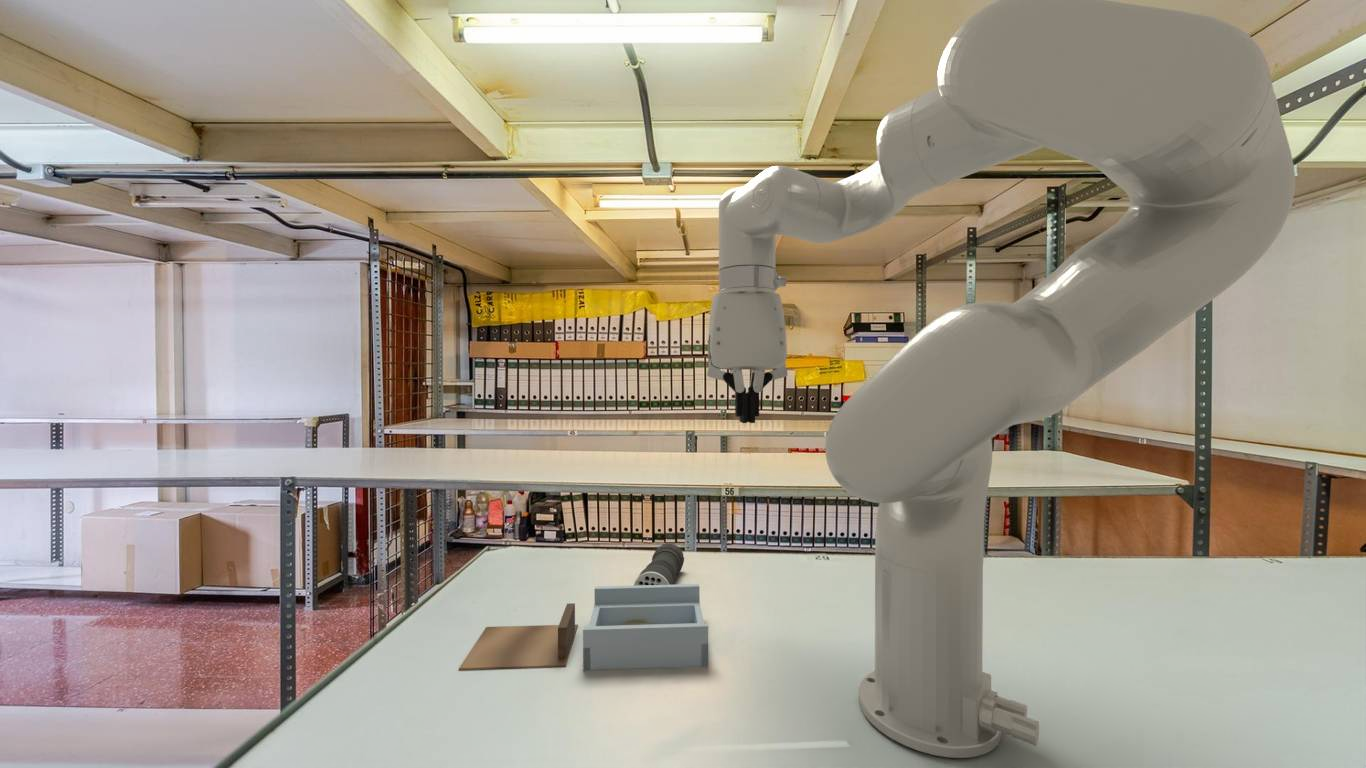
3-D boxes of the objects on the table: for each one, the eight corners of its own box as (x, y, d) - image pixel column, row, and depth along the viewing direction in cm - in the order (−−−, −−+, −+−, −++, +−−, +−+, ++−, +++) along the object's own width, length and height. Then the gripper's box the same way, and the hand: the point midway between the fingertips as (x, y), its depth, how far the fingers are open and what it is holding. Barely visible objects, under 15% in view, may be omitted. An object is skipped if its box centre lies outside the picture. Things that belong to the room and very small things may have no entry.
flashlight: (654, 570, 90) (654, 539, 90) (685, 572, 89) (685, 540, 89) (633, 609, 75) (633, 571, 74) (670, 611, 74) (670, 573, 74)
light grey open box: (699, 620, 71) (698, 583, 71) (708, 670, 59) (708, 626, 59) (595, 623, 70) (595, 586, 70) (583, 674, 58) (583, 629, 58)
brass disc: (652, 626, 68) (652, 620, 68) (652, 643, 64) (652, 637, 64) (618, 627, 68) (618, 621, 68) (616, 644, 63) (616, 638, 63)
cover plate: (577, 633, 68) (577, 597, 68) (565, 675, 59) (565, 634, 59) (486, 636, 68) (486, 600, 67) (458, 678, 58) (458, 637, 58)
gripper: (794, 290, 74) (794, 419, 74) (689, 289, 73) (689, 420, 73) (810, 280, 66) (810, 424, 66) (693, 279, 65) (693, 425, 65)
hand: (747, 421), depth 70 cm, fingers closed
